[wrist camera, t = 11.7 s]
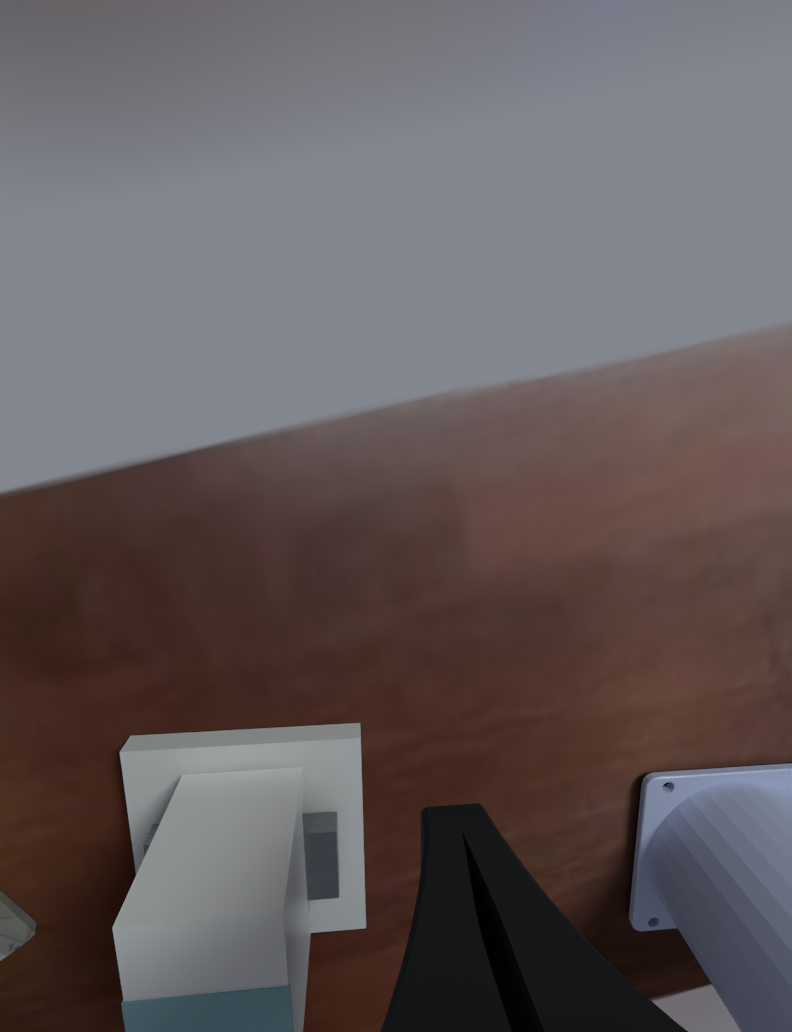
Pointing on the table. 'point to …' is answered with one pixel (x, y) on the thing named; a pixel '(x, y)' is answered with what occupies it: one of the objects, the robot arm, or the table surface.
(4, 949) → the packaged product
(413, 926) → the robot arm
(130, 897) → the block
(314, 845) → the dark grey flat block
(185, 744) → the base
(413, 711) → the table surface
